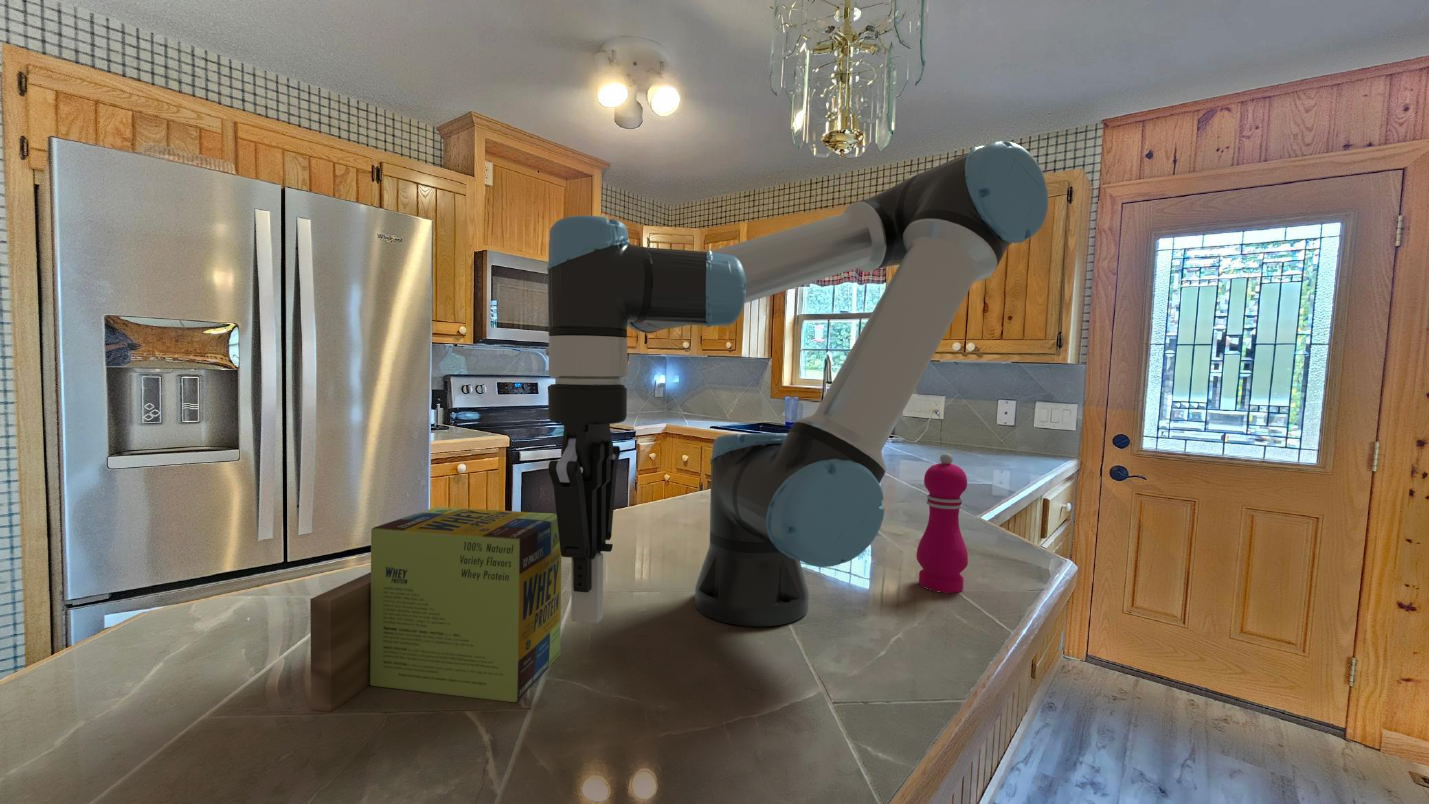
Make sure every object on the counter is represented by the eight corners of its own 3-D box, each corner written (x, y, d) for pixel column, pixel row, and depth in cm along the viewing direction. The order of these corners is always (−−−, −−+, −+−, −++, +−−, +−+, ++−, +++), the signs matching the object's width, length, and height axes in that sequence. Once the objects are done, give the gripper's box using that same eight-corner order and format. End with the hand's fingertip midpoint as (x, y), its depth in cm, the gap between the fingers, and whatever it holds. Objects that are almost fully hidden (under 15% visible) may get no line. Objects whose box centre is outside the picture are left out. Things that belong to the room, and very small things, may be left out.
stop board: (457, 622, 75) (458, 540, 75) (330, 711, 55) (330, 600, 55) (442, 621, 75) (443, 539, 75) (310, 709, 56) (310, 598, 55)
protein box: (519, 704, 57) (521, 537, 57) (367, 687, 60) (367, 527, 59) (563, 654, 68) (565, 512, 67) (432, 641, 70) (433, 504, 69)
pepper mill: (976, 589, 92) (983, 454, 91) (946, 598, 88) (953, 457, 87) (935, 575, 98) (940, 448, 97) (905, 583, 94) (910, 451, 93)
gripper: (577, 380, 68) (577, 593, 69) (519, 382, 55) (520, 643, 56) (644, 381, 66) (642, 598, 68) (601, 384, 54) (599, 651, 55)
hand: (587, 618), depth 62 cm, fingers closed
